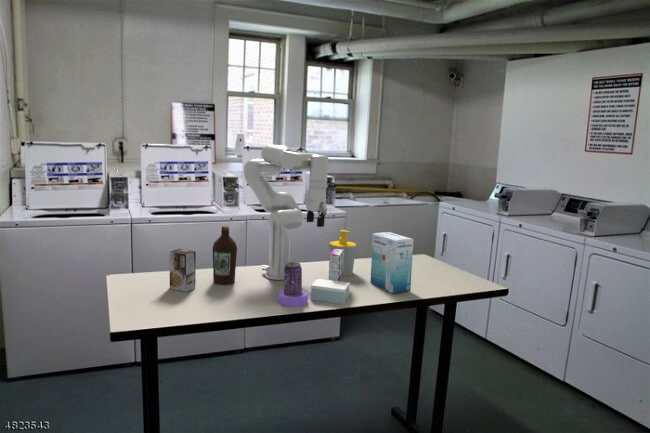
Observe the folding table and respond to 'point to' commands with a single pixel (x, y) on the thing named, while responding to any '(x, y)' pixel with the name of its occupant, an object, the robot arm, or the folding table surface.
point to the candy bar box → (336, 265)
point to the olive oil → (224, 258)
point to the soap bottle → (345, 252)
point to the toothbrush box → (391, 262)
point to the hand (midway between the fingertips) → (315, 224)
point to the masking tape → (293, 299)
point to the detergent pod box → (330, 291)
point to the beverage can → (292, 278)
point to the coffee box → (182, 269)
